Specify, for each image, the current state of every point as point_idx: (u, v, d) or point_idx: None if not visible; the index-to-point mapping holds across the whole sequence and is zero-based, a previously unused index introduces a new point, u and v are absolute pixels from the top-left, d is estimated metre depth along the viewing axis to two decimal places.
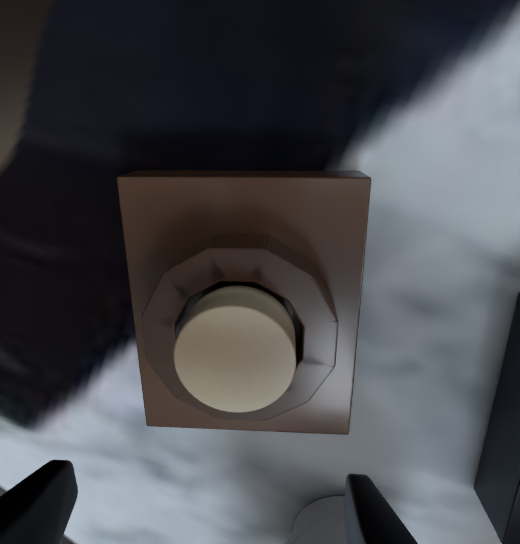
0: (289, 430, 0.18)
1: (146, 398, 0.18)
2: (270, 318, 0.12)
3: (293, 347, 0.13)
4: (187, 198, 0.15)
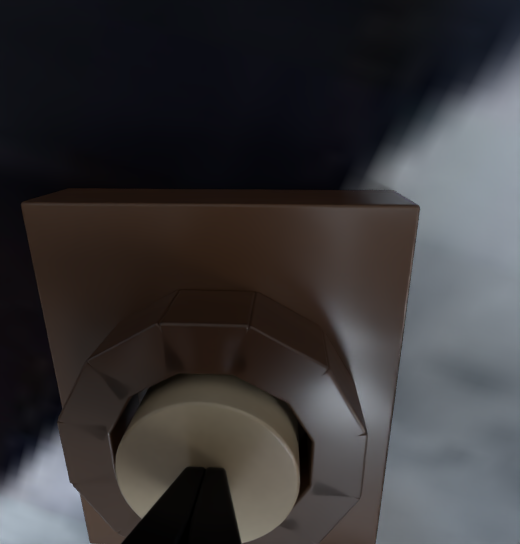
0: None
1: (87, 509, 0.12)
2: (260, 421, 0.08)
3: (296, 461, 0.08)
4: (130, 236, 0.09)
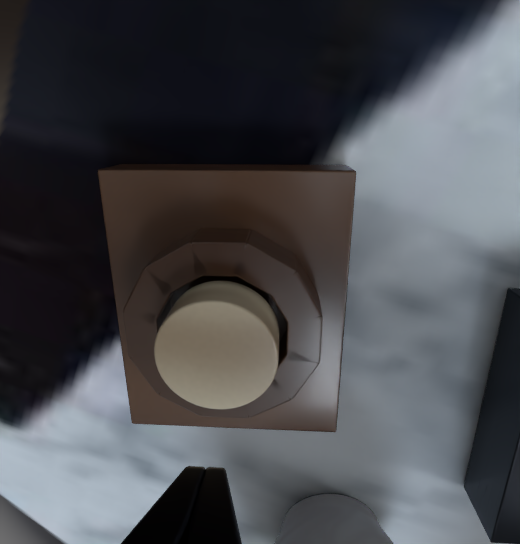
0: (276, 427, 0.18)
1: (131, 395, 0.17)
2: (251, 313, 0.12)
3: (275, 343, 0.13)
4: (169, 192, 0.14)
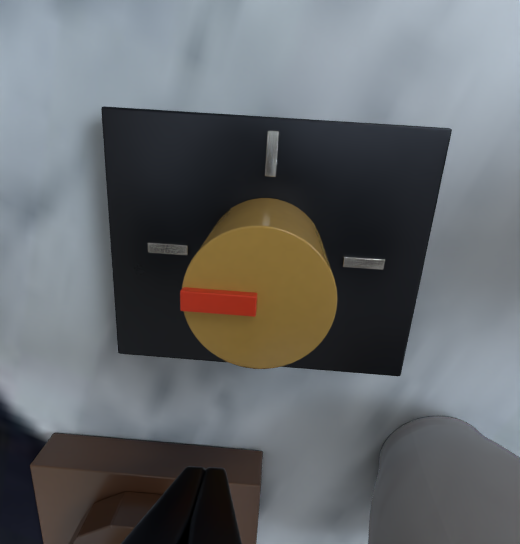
0: (254, 526, 0.20)
1: None
2: None
3: None
4: None
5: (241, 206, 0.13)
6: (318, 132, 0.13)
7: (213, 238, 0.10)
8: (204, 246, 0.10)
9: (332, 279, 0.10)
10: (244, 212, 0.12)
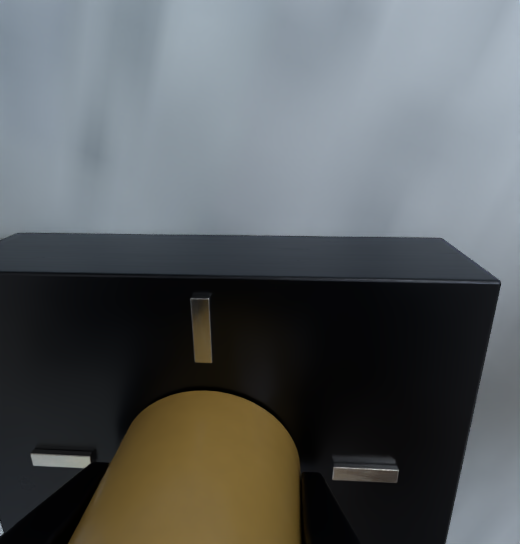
0: None
1: None
2: None
3: None
4: None
5: (155, 423, 0.08)
6: (274, 295, 0.08)
7: None
8: None
9: None
10: (143, 474, 0.06)
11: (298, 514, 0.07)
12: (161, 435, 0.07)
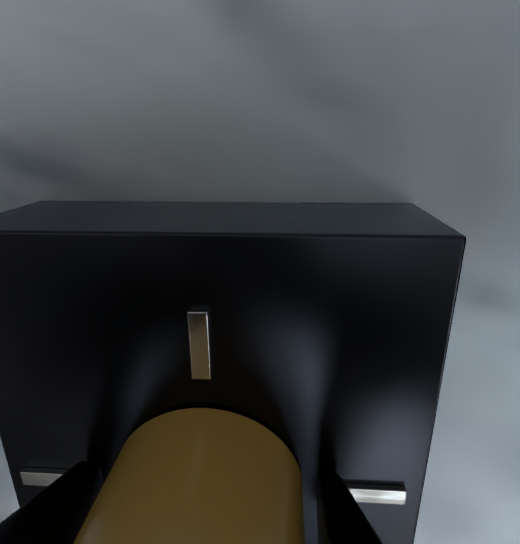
0: None
1: None
2: None
3: None
4: None
5: (149, 445, 0.07)
6: (397, 539, 0.09)
7: None
8: None
9: None
10: (135, 502, 0.06)
11: (301, 541, 0.07)
12: (155, 458, 0.07)
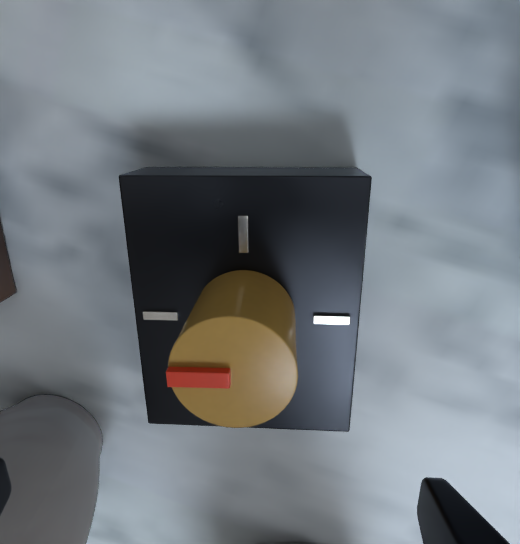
0: None
1: None
2: None
3: None
4: None
5: (218, 282, 0.15)
6: (347, 350, 0.16)
7: (189, 327, 0.12)
8: (182, 334, 0.12)
9: (291, 354, 0.12)
10: (218, 293, 0.14)
11: (293, 322, 0.14)
12: (223, 283, 0.14)
